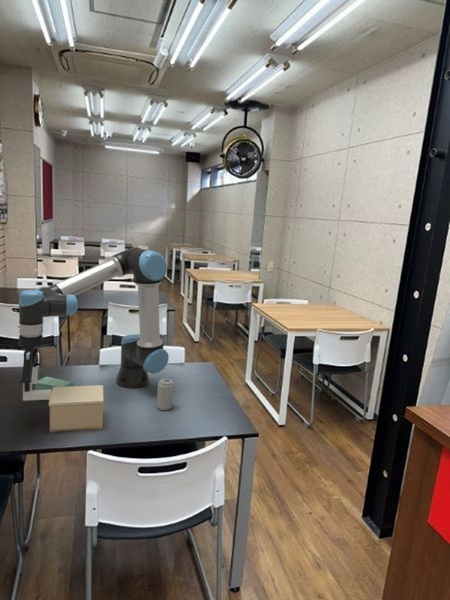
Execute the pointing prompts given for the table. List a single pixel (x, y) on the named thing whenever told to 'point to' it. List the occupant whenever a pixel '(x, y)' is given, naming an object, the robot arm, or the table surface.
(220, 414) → the table surface
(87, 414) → the carton
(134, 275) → the robot arm
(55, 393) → the lid
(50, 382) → the box
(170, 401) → the beverage can
